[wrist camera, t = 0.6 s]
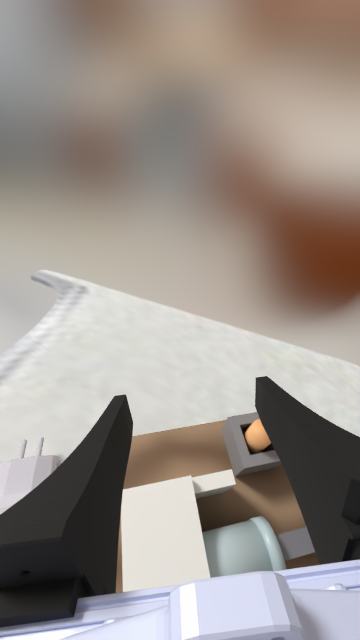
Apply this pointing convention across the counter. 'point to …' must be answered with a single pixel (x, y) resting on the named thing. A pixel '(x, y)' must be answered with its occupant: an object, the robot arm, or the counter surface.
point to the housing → (180, 516)
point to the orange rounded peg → (256, 438)
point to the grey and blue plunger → (253, 547)
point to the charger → (23, 475)
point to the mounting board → (205, 458)
